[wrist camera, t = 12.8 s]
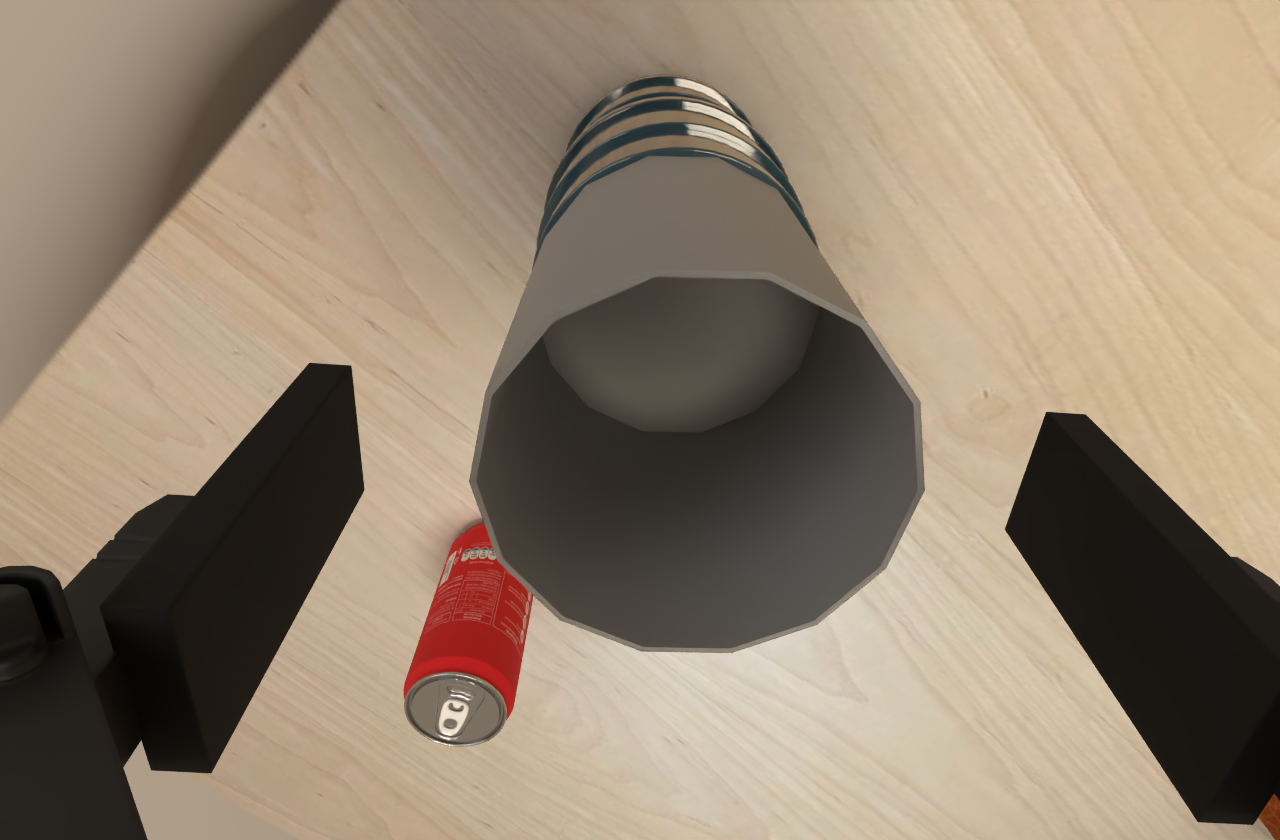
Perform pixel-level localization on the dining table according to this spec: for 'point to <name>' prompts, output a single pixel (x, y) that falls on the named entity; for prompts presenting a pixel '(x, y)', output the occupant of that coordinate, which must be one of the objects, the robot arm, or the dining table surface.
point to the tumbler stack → (661, 140)
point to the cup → (692, 419)
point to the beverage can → (469, 647)
